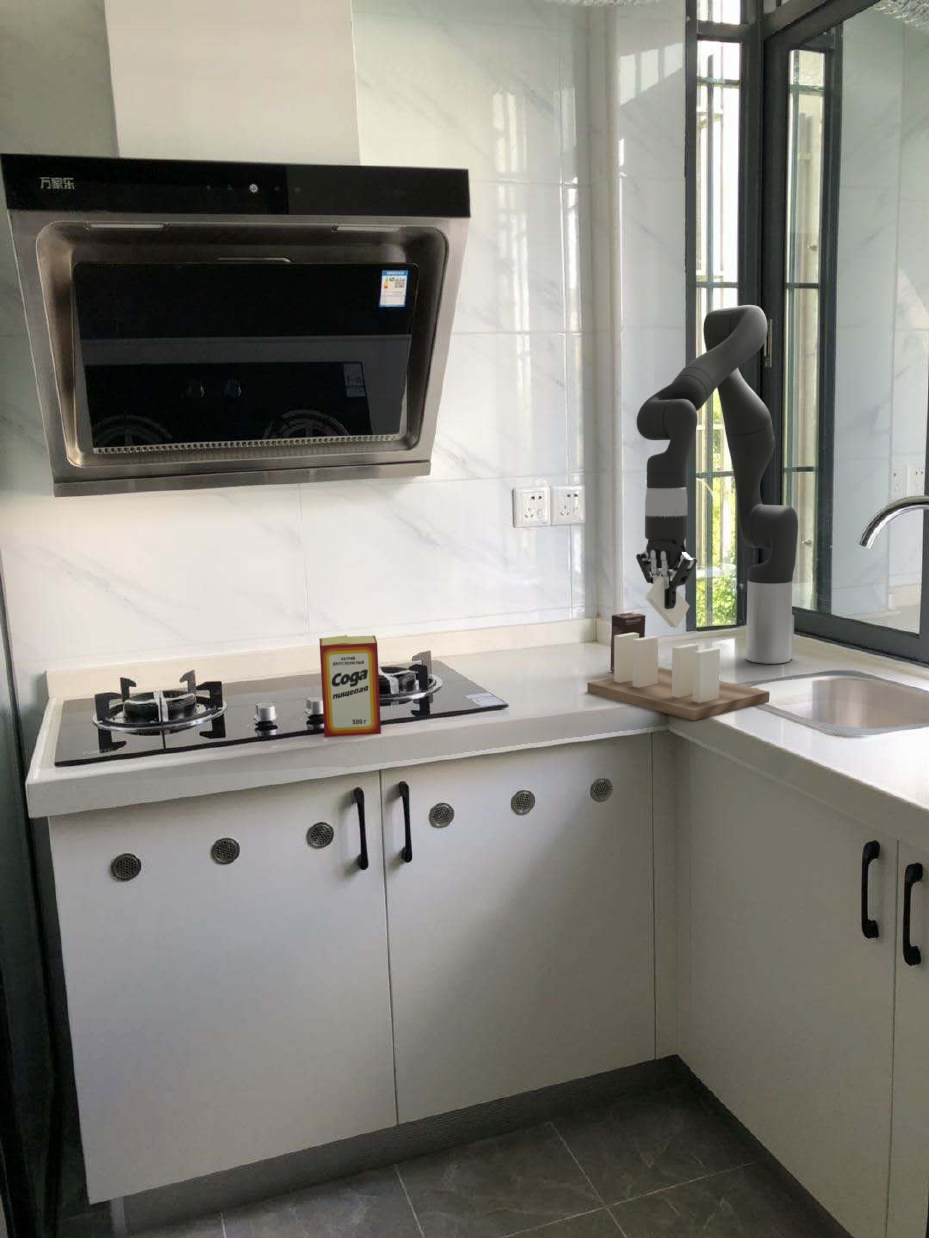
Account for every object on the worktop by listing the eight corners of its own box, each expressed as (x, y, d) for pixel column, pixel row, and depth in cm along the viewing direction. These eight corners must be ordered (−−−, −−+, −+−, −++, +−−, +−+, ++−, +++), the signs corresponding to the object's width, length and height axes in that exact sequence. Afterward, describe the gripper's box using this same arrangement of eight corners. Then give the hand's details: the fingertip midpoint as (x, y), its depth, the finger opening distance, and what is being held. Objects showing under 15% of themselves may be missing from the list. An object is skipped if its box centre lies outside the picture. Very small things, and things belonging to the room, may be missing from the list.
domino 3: (670, 626, 188) (645, 597, 184) (683, 605, 190) (658, 576, 185) (677, 627, 187) (651, 598, 182) (689, 606, 188) (665, 576, 184)
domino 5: (692, 701, 180) (693, 651, 178) (712, 696, 182) (712, 647, 181) (699, 703, 178) (700, 652, 177) (719, 698, 181) (719, 648, 180)
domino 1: (614, 681, 196) (614, 635, 194) (633, 677, 199) (633, 632, 197) (620, 682, 195) (620, 636, 193) (638, 678, 197) (639, 633, 196)
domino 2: (632, 686, 192) (632, 639, 190) (651, 682, 195) (651, 635, 193) (638, 687, 190) (638, 640, 189) (657, 683, 193) (658, 637, 192)
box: (624, 675, 209) (624, 617, 206) (609, 671, 212) (609, 614, 210) (646, 671, 212) (646, 614, 210) (631, 667, 215) (631, 611, 213)
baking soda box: (378, 723, 178) (374, 633, 175) (381, 733, 171) (377, 640, 169) (324, 726, 176) (319, 636, 174) (324, 737, 170) (319, 643, 167)
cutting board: (660, 676, 207) (660, 667, 207) (769, 701, 185) (769, 691, 185) (587, 691, 196) (587, 682, 195) (693, 720, 174) (693, 710, 174)
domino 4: (672, 696, 184) (672, 647, 182) (691, 691, 187) (691, 643, 185) (678, 697, 182) (679, 648, 181) (697, 693, 185) (698, 644, 184)
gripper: (709, 513, 180) (707, 610, 183) (653, 510, 191) (652, 601, 193) (679, 515, 175) (678, 614, 178) (624, 512, 186) (624, 606, 189)
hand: (665, 607), depth 186 cm, fingers closed on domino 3, 1 cm apart
